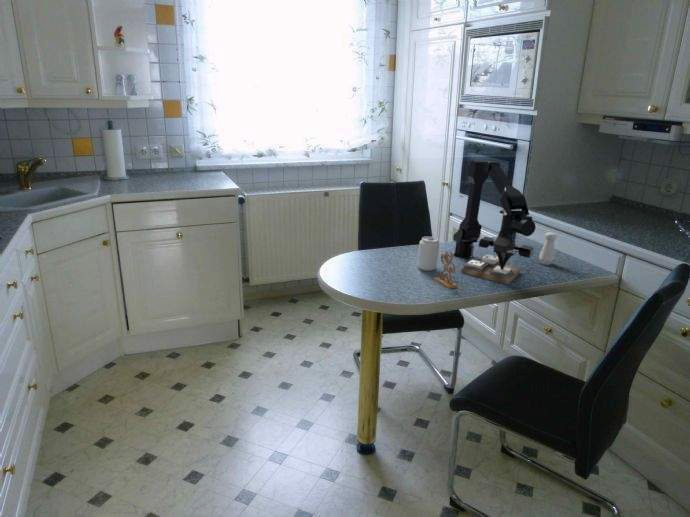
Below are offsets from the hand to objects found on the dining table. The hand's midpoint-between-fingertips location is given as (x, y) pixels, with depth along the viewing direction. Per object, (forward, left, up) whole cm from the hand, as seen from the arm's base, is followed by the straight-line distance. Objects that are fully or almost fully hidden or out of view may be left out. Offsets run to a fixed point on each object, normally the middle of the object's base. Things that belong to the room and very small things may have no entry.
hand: (502, 268), depth 189 cm
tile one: (0, 0, -2) cm, 2 cm away
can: (-26, -9, -4) cm, 28 cm away
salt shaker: (+9, +31, -4) cm, 33 cm away
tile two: (-7, +8, -1) cm, 10 cm away
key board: (-5, +4, -4) cm, 7 cm away
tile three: (-10, 0, -2) cm, 10 cm away
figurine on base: (-14, -19, -4) cm, 24 cm away
